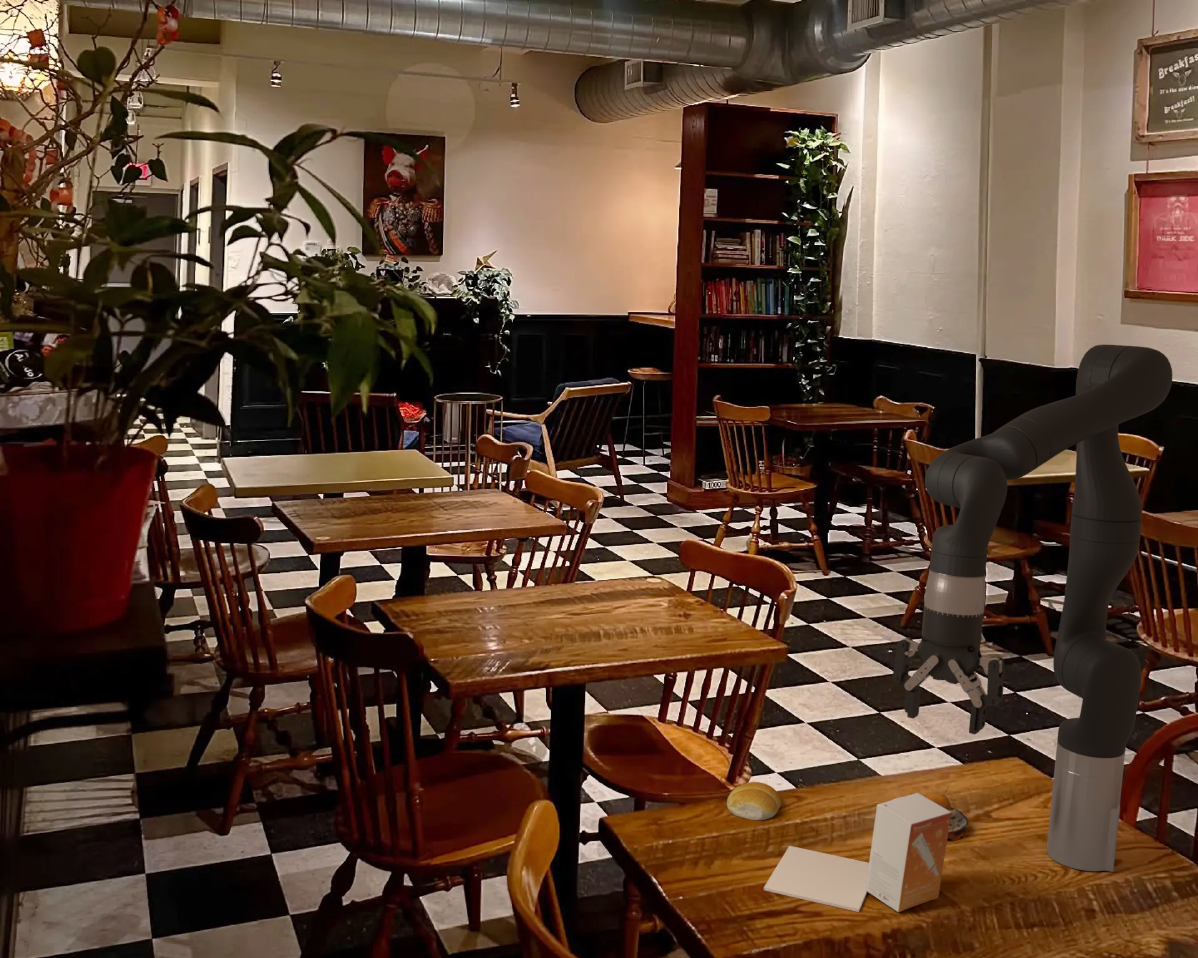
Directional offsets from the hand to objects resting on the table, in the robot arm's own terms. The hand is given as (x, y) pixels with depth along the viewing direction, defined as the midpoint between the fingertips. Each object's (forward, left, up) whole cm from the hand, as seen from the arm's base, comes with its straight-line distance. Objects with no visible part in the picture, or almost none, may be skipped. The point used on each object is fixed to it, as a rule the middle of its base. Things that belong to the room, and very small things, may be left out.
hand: (942, 724), depth 158 cm
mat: (+14, +1, -25) cm, 29 cm away
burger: (+3, -24, -26) cm, 35 cm away
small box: (+3, +1, -25) cm, 25 cm away
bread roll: (+29, -17, -25) cm, 43 cm away
